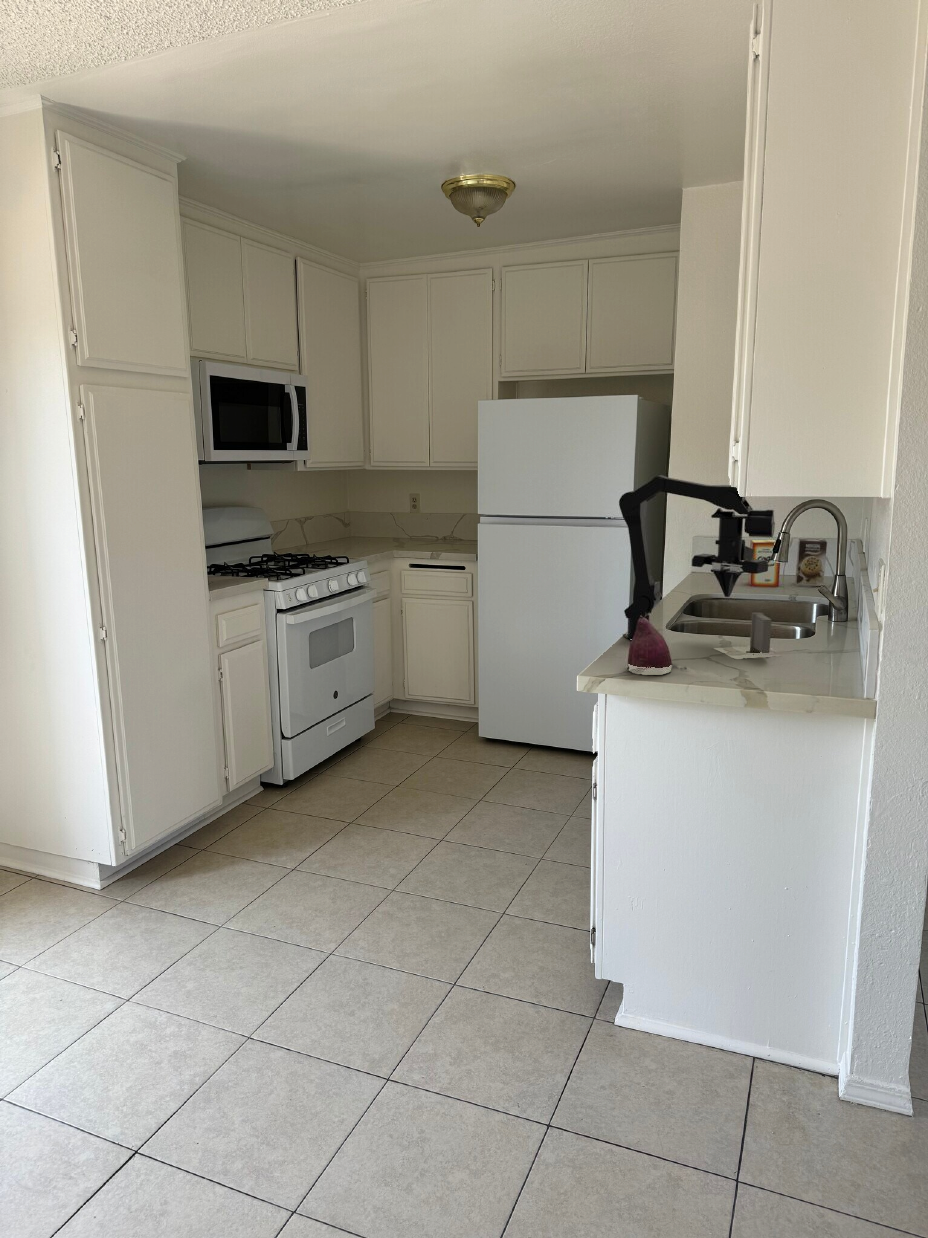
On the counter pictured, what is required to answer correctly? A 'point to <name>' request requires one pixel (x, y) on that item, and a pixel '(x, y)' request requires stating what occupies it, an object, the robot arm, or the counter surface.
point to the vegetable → (648, 647)
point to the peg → (760, 633)
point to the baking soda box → (764, 553)
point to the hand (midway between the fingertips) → (727, 596)
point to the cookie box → (810, 562)
